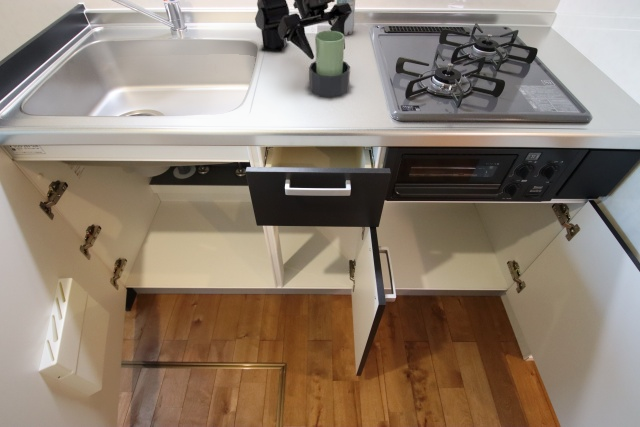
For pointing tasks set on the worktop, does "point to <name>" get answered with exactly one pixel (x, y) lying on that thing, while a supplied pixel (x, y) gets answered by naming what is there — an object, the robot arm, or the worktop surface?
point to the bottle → (350, 21)
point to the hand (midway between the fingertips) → (328, 54)
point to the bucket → (329, 82)
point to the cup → (329, 53)
